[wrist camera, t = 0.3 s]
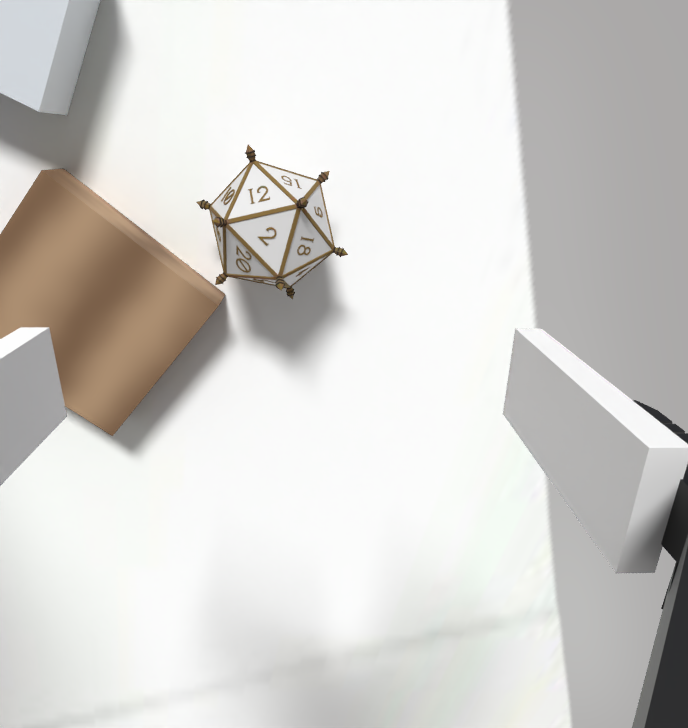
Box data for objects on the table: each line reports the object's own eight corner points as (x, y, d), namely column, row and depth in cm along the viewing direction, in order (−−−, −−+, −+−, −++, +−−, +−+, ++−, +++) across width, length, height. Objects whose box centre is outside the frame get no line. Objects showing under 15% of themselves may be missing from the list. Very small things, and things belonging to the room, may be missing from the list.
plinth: (-32, 313, 38) (-60, 327, 35) (63, 168, 34) (41, 170, 32) (125, 416, 41) (112, 436, 39) (225, 294, 38) (218, 306, 35)
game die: (295, 235, 41) (314, 343, 35) (183, 207, 36) (186, 324, 31) (350, 139, 34) (383, 254, 29) (221, 92, 30) (233, 216, 25)
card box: (-30, 66, 32) (-74, 56, 29) (7, -97, 29) (-37, -132, 26) (69, 115, 34) (38, 111, 30) (113, -36, 31) (85, -61, 27)
